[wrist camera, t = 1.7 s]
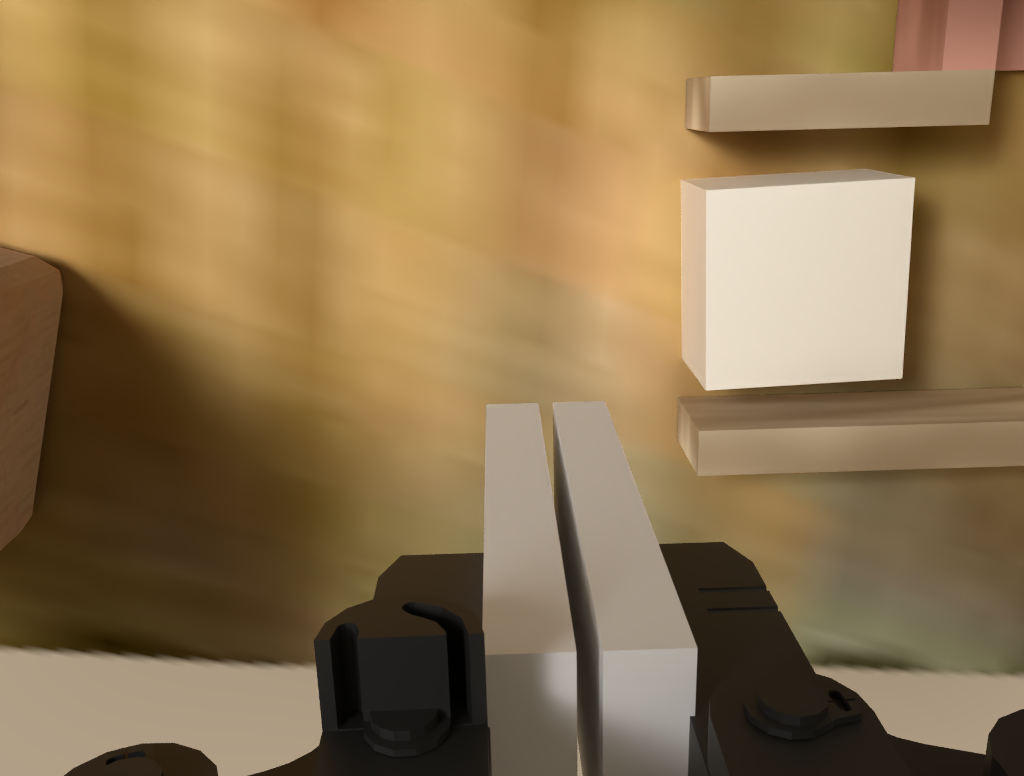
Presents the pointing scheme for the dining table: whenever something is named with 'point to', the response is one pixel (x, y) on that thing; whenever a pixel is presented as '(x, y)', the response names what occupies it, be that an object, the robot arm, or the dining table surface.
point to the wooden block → (24, 378)
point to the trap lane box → (866, 104)
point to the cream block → (795, 277)
